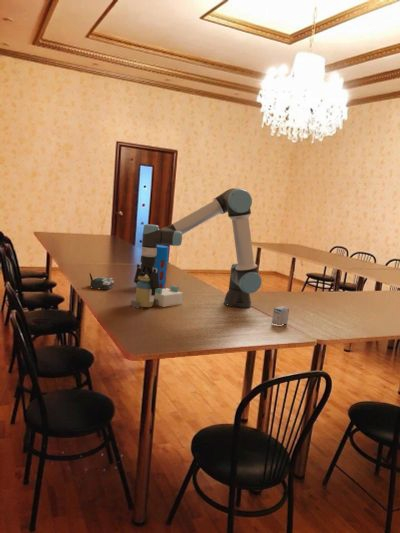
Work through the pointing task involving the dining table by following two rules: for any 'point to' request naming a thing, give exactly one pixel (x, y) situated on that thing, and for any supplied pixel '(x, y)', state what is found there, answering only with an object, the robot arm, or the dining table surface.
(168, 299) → the block
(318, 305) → the dining table surface
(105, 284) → the communication device
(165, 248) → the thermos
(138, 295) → the jar
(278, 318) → the medicine box
